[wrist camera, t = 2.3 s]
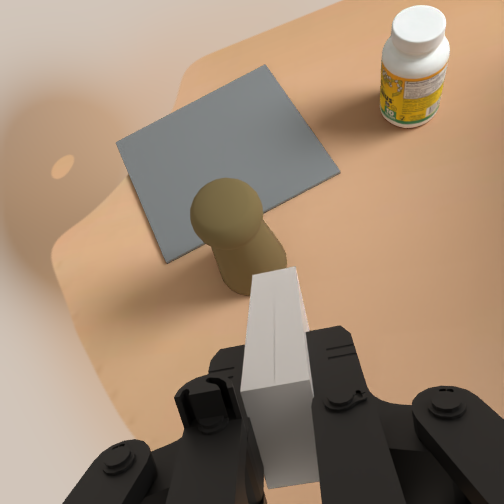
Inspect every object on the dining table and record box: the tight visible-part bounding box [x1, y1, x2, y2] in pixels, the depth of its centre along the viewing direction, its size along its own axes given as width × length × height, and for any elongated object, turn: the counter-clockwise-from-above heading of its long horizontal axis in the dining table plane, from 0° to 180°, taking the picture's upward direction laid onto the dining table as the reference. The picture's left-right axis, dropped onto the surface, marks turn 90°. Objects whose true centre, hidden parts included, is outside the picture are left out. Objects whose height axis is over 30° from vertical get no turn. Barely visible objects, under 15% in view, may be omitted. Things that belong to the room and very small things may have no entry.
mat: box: [116, 65, 340, 264], centre depth 47 cm, size 18×16×1 cm
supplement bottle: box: [380, 5, 450, 128], centre depth 41 cm, size 5×5×10 cm
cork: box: [190, 178, 287, 296], centre depth 37 cm, size 6×6×11 cm
